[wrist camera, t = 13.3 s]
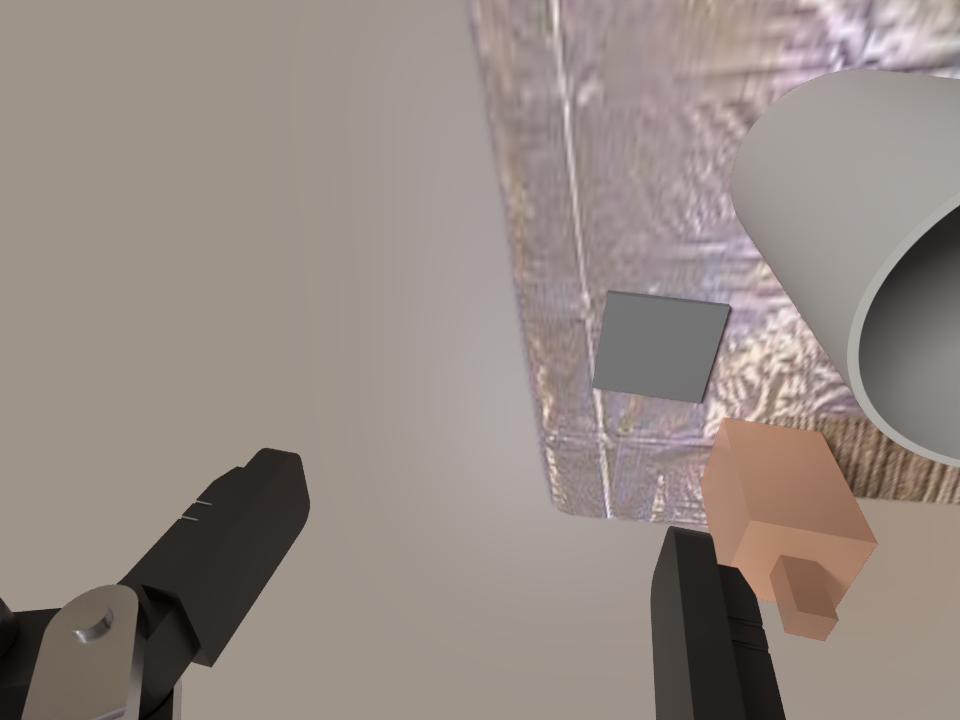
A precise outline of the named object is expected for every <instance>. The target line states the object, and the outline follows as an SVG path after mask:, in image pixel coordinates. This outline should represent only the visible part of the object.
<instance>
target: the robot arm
mask: <svg viewBox="0 0 960 720" xmlns="http://www.w3.org/2000/svg"><path fill="white" fill-rule="evenodd" d="M309 509H310V499H309V494H308V490H307V485H306V480H305V475H304V470H303V466H302V461H301V458H300V456H299V455H298V454H296V453H292V452H286V451H281V450H275V449H270V448H263V449H261V450H260V451H259V452H257V453H256V455H255V456H254V457H253V458H252V459H251V460H250V461H249V462H248V464H247V465H246V466H245V467H244V468H242V467H235V468H234V469H232V470H230V471H229V472H227V473H226V474H224V475H223V476H221V477H219V478H218V479H216V480H215V481H213V482H212V483H211V485H209V487H208V488H207V489H206V490H205V491H204V492H203V493H202V494H201V495H200V496H199V498H197V501H196V503H195V504H194V503H193V504H192V505H191V506H190V507H189V508H188V509H187V510H186V511H185V512H184V513H183V515H182V518H181V519H178V520H177V521H176V522H175V523H174V524H173V525H172V526H171V528H170V529H169V530H168V531H167V532H166V533H165V534H164V535H163V536H162V537H161V538H160V539H159V540H158V542H157V543H156V544H155V545H154V546H153V547H152V548H151V549H150V550H149V551H148V552H147V553H146V554H145V555H144V557H143V558H142V559H141V560H140V561H139V562H138V563H137V564H136V565H135V566H134V567H133V568H132V570H131V571H130V572H129V573H128V574H127V575H126V576H125V577H124V578H123V579H122V580H121V581H120V582H118V583H117V584H116V585H114V584H113V585H105V586H101V587H98V588H95V589H92V590H89V591H88V592H85V593H83V594H81V595H80V596H78V597H76V598H75V599H73V600H72V601H70V602H69V603H68V604H66V605H65V606H64V607H63V608H58V609H57V608H56V609H45V610H34V611H23V612H11V611H10V609H9V608H8V607H7V605H6V604H5V603H4V601H3V600H2V599H1V598H0V720H181V698H182V696H181V695H182V682H181V678H180V677H181V675H182V674H183V673H184V671H185V670H186V668H187V667H188V665H189V664H190V663H191V662H194V663H197V664H201V665H204V666H208V667H212V666H213V665H214V663H215V662H216V660H217V658H218V657H219V655H220V654H221V652H222V651H223V649H224V648H225V646H226V645H227V643H228V642H229V640H230V639H231V637H232V636H233V634H234V633H235V631H236V630H237V628H238V626H239V625H240V623H241V622H242V620H243V619H244V617H245V616H246V614H247V613H248V611H249V610H250V608H251V607H252V605H253V604H254V602H255V600H256V599H257V597H258V596H259V595H260V593H261V591H262V590H263V588H264V587H265V585H266V584H267V582H268V581H269V579H270V578H271V576H272V575H273V573H274V572H275V570H276V568H277V567H278V565H279V564H280V563H281V561H282V559H283V558H284V556H285V555H286V553H287V552H288V550H289V549H290V547H291V546H292V544H293V543H294V541H295V540H296V538H297V536H298V535H299V534H300V532H301V530H302V529H303V527H304V525H305V523H306V521H307V518H308V514H309ZM651 622H652V642H653V643H652V644H653V663H654V683H655V704H656V720H786V718H785V714H784V710H783V705H782V701H781V697H780V693H779V689H778V685H777V681H776V677H775V672H774V668H773V664H772V660H771V656H770V654H769V653H768V643H767V639H766V635H765V631H764V629H763V628H762V625H763V623H762V618H761V614H760V610H759V606H758V602H757V597H756V594H755V593H754V591H753V590H752V588H751V587H750V585H749V584H748V582H747V581H746V579H745V578H744V576H743V575H742V573H741V572H740V570H739V568H736V567H731V566H726V565H721V564H718V563H717V557H716V552H715V546H714V541H713V538H712V536H711V534H710V533H705V532H700V531H694V530H690V529H684V528H679V527H674V526H670V527H669V528H668V530H667V533H666V536H665V540H664V543H663V546H662V549H661V552H660V555H659V559H658V562H657V565H656V568H655V571H654V575H653V580H652V587H651Z"/></svg>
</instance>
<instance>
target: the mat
mask: <svg viewBox="0 0 960 720" xmlns="http://www.w3.org/2000/svg"><path fill="white" fill-rule="evenodd" d="M729 309H730V306H729V304H722V303H713V302H704V301H696V300H687V299H678V298H669V297H661V296H652V295H643V294H634V293H625V292H617V291H608V295H607V301H606V307H605V313H604V319H603V325H602V331H601V337H600V343H599V349H598V355H597V361H596V367H595V373H594V379H593V385H592V388H598V389H605V390H612V391H619V392H625V393H632V394H639V395H646V396H652V397H659V398H666V399H673V400H680V401H686V402H693V403H701V400H702V396H703V393H704V390H705V387H706V383H707V380H708V377H709V374H710V370H711V367H712V364H713V361H714V357H715V354H716V351H717V348H718V344H719V341H720V338H721V335H722V331H723V328H724V325H725V322H726V318H727V315H728V312H729Z"/></svg>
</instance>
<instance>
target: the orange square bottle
mask: <svg viewBox="0 0 960 720" xmlns="http://www.w3.org/2000/svg"><path fill="white" fill-rule="evenodd" d="M700 483H701V489H702V495H703V500H704V506H705V512H706V517H707V523H708V529H709V533H710V534H711V536H712V538H713V541H714V546H715V552H716V557H717V563H718V564H721V565H726V566H731V567H736V568H739V570H740V572H741V573H742V575H743V576H744V578H745V579H746V581H747V582H748V584H749V585H750V587H751V588H752V590H753V591H754V593H755V594H756V597H757V598H758V599H762V600H767V601H772V602H777V605H778V609H779V612H780V616H781V620H782V623H783V627H784V631H785V633H789V634H794V635H798V636H803V637H808V638H812V639H816V640H821V641H825V639H826V638H827V636H828V635H829V634H830V632H831V631H832V629H833V628H834V626H835V625H836V623H837V622H838V617H837V614H836V611H835V608H836V607H837V605H838V604H839V602H840V601H841V599H842V598H843V596H844V594H845V593H846V591H847V590H848V588H849V587H850V585H851V584H852V582H853V581H854V579H855V578H856V576H857V575H858V573H859V572H860V570H861V569H862V567H863V565H864V564H865V562H866V561H867V559H868V557H869V556H870V555H871V553H872V552H873V550H874V548H875V547H876V545H877V544H878V543H877V541H876V539H875V537H874V535H873V533H872V531H871V529H870V528H869V526H868V524H867V522H866V520H865V518H864V516H863V514H862V512H861V510H860V508H859V506H858V504H857V502H856V500H855V498H854V496H853V494H852V492H851V490H850V488H849V486H848V484H847V482H846V480H845V478H844V476H843V474H842V472H841V470H840V468H839V466H838V464H837V462H836V461H835V459H834V457H833V455H832V453H831V451H830V449H829V447H828V445H827V443H826V441H825V439H824V437H823V435H822V433H821V432H814V431H808V430H801V429H795V428H788V427H782V426H775V425H769V424H762V423H756V422H749V421H743V420H736V419H730V418H723V419H722V422H721V425H720V428H719V430H718V433H717V436H716V439H715V442H714V445H713V448H712V451H711V454H710V456H709V459H708V462H707V465H706V468H705V471H704V474H703V477H702V480H701V482H700Z"/></svg>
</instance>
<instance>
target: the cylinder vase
mask: <svg viewBox="0 0 960 720" xmlns="http://www.w3.org/2000/svg"><path fill="white" fill-rule="evenodd" d="M731 196H732V202H733V206H734V209H735V212H736V214H737V217H738V219H739V221H740V222H741V224H742V225H743V227H744V229H745V230H746V232H747V233H748V235H749V236H750V238H751V239H752V241H753V242H754V244H755V245H756V247H757V248H758V250H759V252H760V253H761V255H762V256H763V258H764V259H765V261H766V262H767V264H768V265H769V267H770V268H771V270H772V271H773V273H774V275H775V276H776V278H777V279H778V281H779V282H780V284H781V285H782V287H783V288H784V290H785V291H786V293H787V294H788V296H789V298H790V299H791V301H792V302H793V304H794V305H795V307H796V308H797V310H798V311H799V313H800V314H801V316H802V317H803V319H804V321H805V322H806V324H807V325H808V327H809V328H810V330H811V331H812V333H813V334H814V336H815V337H816V339H817V340H818V342H819V344H820V345H821V347H822V348H823V350H824V351H825V353H826V354H827V356H828V357H829V359H830V360H831V362H832V363H833V365H834V367H835V368H836V370H837V371H838V373H839V374H840V376H841V377H842V379H843V380H844V382H845V383H846V385H847V386H848V388H849V390H850V391H851V393H852V394H853V396H854V397H855V399H856V400H857V402H858V403H859V405H860V406H861V408H862V409H863V411H864V412H865V414H866V415H867V417H868V418H869V419H870V420H871V421H872V423H873V424H874V425H875V426H876V427H877V428H878V429H879V430H881V431H882V432H883V433H884V434H885V435H886V436H888V437H889V438H890V439H892V440H893V441H895V442H896V443H898V444H899V445H901V446H903V447H904V448H906V449H908V450H910V451H912V452H914V453H916V454H918V455H921V456H923V457H925V458H928V459H931V460H934V461H937V462H940V463H943V464H947V465H950V466H955V467H959V468H960V79H952V78H944V77H935V76H926V75H917V74H908V73H899V72H890V71H882V70H873V69H850V70H843V71H837V72H833V73H829V74H826V75H823V76H820V77H817V78H815V79H812V80H810V81H808V82H805V83H803V84H801V85H800V86H798V87H796V88H794V89H793V90H791V91H790V92H788V93H787V94H785V95H784V96H782V97H781V98H780V99H778V100H777V101H776V102H775V103H774V104H772V105H771V106H770V107H769V108H768V109H767V110H766V111H765V112H764V113H763V114H762V115H761V116H760V118H759V119H758V120H757V121H756V122H755V124H754V125H753V126H752V128H751V129H750V131H749V132H748V134H747V135H746V137H745V139H744V140H743V142H742V144H741V146H740V149H739V151H738V153H737V156H736V159H735V162H734V166H733V171H732V177H731Z"/></svg>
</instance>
